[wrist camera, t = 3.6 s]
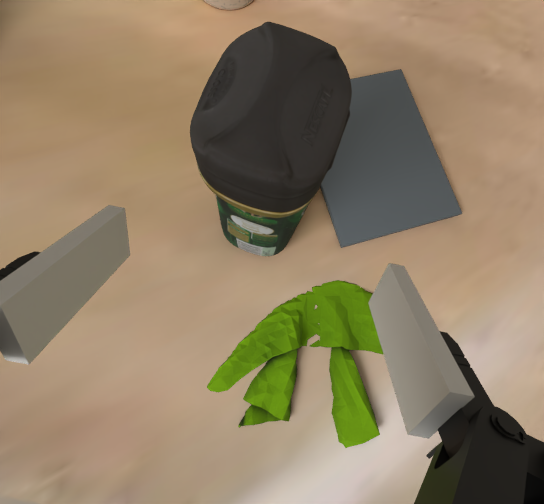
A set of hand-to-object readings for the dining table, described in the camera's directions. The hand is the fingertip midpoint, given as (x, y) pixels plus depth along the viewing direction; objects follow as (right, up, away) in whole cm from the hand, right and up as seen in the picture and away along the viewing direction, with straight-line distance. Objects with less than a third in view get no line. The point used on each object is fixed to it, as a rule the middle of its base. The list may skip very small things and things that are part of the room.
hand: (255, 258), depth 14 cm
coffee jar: (0, +4, +17) cm, 18 cm away
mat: (+13, +12, +20) cm, 26 cm away
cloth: (+5, -13, +15) cm, 20 cm away
